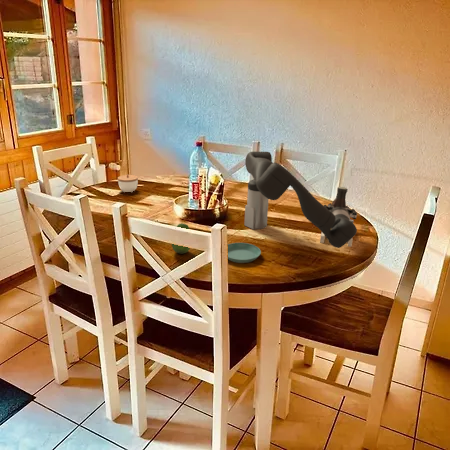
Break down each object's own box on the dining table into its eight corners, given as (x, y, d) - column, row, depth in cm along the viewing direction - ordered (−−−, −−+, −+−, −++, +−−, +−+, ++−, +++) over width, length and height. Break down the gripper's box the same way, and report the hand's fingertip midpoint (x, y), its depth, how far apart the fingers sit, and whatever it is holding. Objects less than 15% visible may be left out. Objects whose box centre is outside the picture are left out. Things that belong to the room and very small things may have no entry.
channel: (351, 246, 168) (353, 235, 166) (320, 242, 171) (321, 231, 169) (352, 230, 184) (353, 219, 182) (323, 227, 187) (324, 216, 185)
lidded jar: (122, 187, 236) (121, 171, 233) (141, 188, 235) (140, 172, 232) (115, 193, 226) (114, 176, 223) (134, 194, 225) (133, 177, 222)
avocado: (193, 256, 157) (193, 226, 152) (172, 257, 155) (171, 227, 151) (190, 247, 164) (190, 218, 160) (170, 248, 162) (169, 220, 158)
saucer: (221, 265, 151) (221, 259, 150) (221, 248, 164) (221, 242, 164) (262, 266, 151) (262, 259, 150) (258, 249, 165) (259, 242, 164)
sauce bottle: (333, 236, 174) (342, 190, 167) (322, 231, 179) (330, 186, 172) (344, 234, 177) (353, 189, 171) (333, 229, 182) (342, 185, 175)
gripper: (319, 225, 164) (319, 212, 179) (356, 231, 161) (353, 217, 177) (322, 206, 161) (322, 195, 176) (360, 212, 159) (357, 200, 174)
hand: (338, 206), depth 176 cm, fingers closed on sauce bottle, 6 cm apart
